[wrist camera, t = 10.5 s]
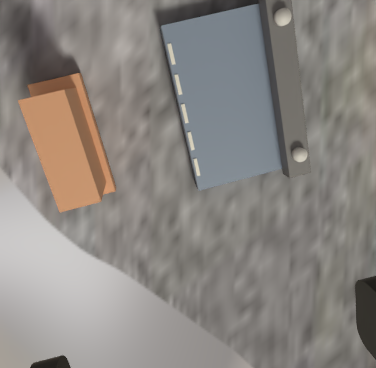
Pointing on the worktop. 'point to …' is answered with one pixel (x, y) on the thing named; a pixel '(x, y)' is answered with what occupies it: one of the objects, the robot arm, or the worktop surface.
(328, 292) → the worktop surface
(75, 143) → the stub
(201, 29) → the panel with knobs
